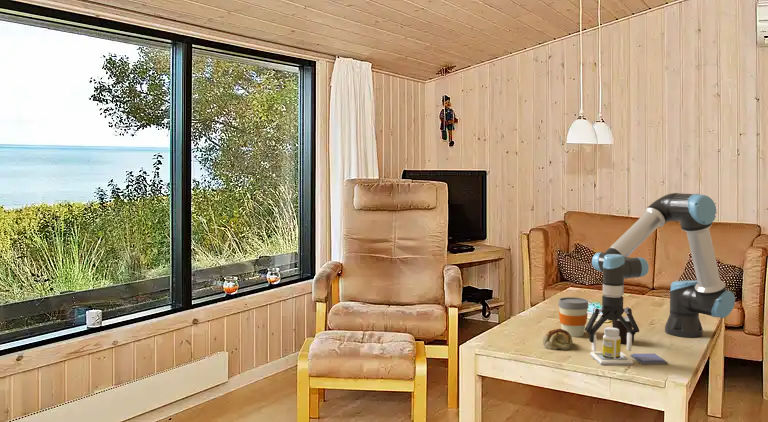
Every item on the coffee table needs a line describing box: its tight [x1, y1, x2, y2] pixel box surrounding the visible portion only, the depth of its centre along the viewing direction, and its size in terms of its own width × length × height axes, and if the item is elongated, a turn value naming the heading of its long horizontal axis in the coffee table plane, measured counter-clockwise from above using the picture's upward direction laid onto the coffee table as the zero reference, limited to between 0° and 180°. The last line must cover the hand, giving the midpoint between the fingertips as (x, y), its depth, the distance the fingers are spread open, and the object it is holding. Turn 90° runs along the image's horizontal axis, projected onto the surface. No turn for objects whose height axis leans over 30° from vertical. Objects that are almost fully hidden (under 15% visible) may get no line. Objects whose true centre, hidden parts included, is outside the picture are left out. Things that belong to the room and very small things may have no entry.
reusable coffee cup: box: [558, 296, 589, 338], centre depth 289 cm, size 13×13×15 cm
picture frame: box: [589, 351, 634, 366], centre depth 253 cm, size 12×12×1 cm
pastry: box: [542, 328, 574, 351], centre depth 271 cm, size 14×12×8 cm
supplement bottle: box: [602, 326, 622, 360], centre depth 252 cm, size 6×6×11 cm
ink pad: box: [629, 353, 669, 366], centre depth 252 cm, size 10×10×1 cm
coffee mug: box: [611, 315, 633, 345], centre depth 277 cm, size 12×9×10 cm
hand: (611, 350), depth 252 cm, fingers open, 13 cm apart
